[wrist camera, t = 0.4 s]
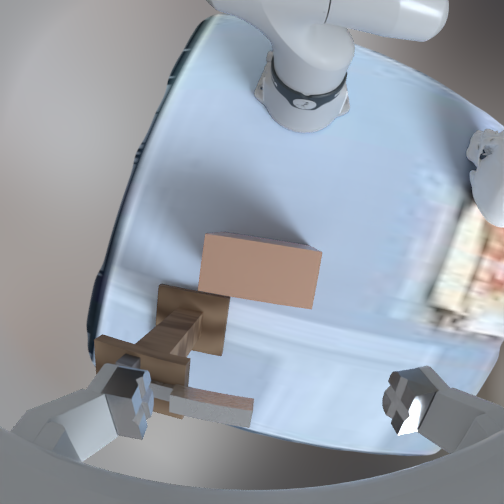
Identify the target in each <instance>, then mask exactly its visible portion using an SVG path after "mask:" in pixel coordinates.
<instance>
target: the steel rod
mask: <svg viewBox="0 0 504 504" xmlns="http://www.w3.org/2000/svg"><path fill="white" fill-rule="evenodd" d="M149 388H150V389H151V390H152V391H153V396H154V398H158V399H162V400H165V401H169V402H170V403H169V412H171V413H175V414H179V415H184V416H188V417H193V418H197V419H202V420H207V421H212V422H217V423H223V424H228V425H234V426H241V427H248V428H249V427H250V422H251V418H252V413H253V403H254V399H252V398H246V397H239V396H233V395H227V394H222V393H216V392H211V391H206V390H201V389H196V388H192V387H187V386H183V385H178V384H176V385H171V384H167V383H163V382H159V381H155V380H152V379H151V382H150V384H149Z"/></svg>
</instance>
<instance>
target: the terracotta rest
mask: <svg viewBox="0 0 504 504" xmlns="http://www.w3.org/2000/svg"><path fill="white" fill-rule="evenodd" d="M321 257H322V252H321V251H319V250H317V249H315V248H314V247H312V246H310V245H305V244H299V243H292V242H286V241H280V240H274V239H267V238H261V237H255V236H248V235H242V234H235V233H229V232H216V233H206V234H205V239H204V246H203V254H202V261H201V269H200V277H199V285H198V291H203V292H209V293H214V294H220V295H225V296H231V297H237V298H243V299H248V300H255V301H261V302H267V303H273V304H280V305H286V306H293V307H300V308H307V309H312V305H313V300H314V295H315V290H316V285H317V279H318V274H319V268H320V263H321Z"/></svg>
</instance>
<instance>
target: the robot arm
mask: <svg viewBox="0 0 504 504" xmlns="http://www.w3.org/2000/svg"><path fill="white" fill-rule="evenodd" d="M206 1H207V2H208V3H209V4H210V5H211V6H212V7H213V8H215V9H216V10H218V11H221V12H224V13H227V14H230V15H233V16H235V17H238V18H240V19H242V20H244V21H246V22H248V23H249V24H251V25H253V26H254V27H255V28H257V29H258V30H259V31H261V32H262V33H263V34H264V35H265V36H266V37H267V38H268V39H269V40H270V42H271V44H272V48H273V51H269V52H268V54H267V58H266V61H267V64H266V66H265V68H264V71H263V73H262V75H261V78H260V80H259V82H258V85H257V87H256V89H255V93H254V96H255V98H256V99H257V100H258V101H260V102H261V103H262V104H264V105H265V106H266V108H267V110H268V112H269V113H270V115H271V116H272V118H273V119H274V120H275V121H276V122H277V123H278V124H280V125H281V126H283V127H285V128H286V129H289V130H291V131H295V132H300V133H310V132H316V131H319V130H321V129H323V128H325V127H327V126H328V125H329V124H330V123H331V122H332V121H333V120H334V119H335V118H337V117H338V116H341V115H344V114H346V113H348V111H349V109H350V104H349V98H348V91H347V86H346V77H347V70H348V68H349V66H350V64H351V61H352V59H353V57H354V52H355V45H354V41H353V38H352V36H351V34H350V32H349V31H348V29H347V28H350V29H354V30H359V31H363V32H367V33H371V34H375V35H379V36H383V37H390V38H398V39H405V40H414V41H421V42H422V41H426V40H429V39H431V38H432V37H434V36H435V35H436V34H437V33H438V32H439V31H440V30H441V29H442V28H443V26H444V24H445V22H446V20H447V17H448V11H449V2H448V0H206ZM261 88H263V90H261ZM150 382H151V378H150V373H149V372H148V370H142V369H136V368H131V367H125V366H119V365H114V364H109V363H107V364H104V365H103V366H102V368H101V369H100V371H99V372H98V373H97V375H96V376H95V378H94V379H93V380H92V382H91V383H90V385H89V386H88V388H87V389H86V390H85V389H80V390H78V391H76V392H73V393H71V394H69V395H66V396H63V397H61V398H58V399H56V400H53V401H51V402H48V403H46V404H43V405H41V406H38V407H35V408H33V409H30V410H27V411H26V413H25V414H24V415H23V416H22V417H21V419H20V420H19V421H18V422H17V424H16V425H15V426H14V427H13V429H12V430H11V431H10V432H9V431H7V430H6V429H4V428H2V427H0V504H504V408H503V407H502V406H501V405H498V404H495V403H493V402H490V401H487V400H484V399H482V398H479V397H476V396H474V395H471V394H468V393H466V392H463V391H461V390H458V389H456V388H450V387H449V386H448V385H447V384H446V383H445V382H444V381H443V380H442V379H441V378H440V377H439V375H438V374H437V373H436V372H435V371H434V370H433V369H432V368H431V367H429V366H423V367H418V368H415V369H409V370H402V371H395V372H393V373H392V374H391V375H390V378H389V381H388V382H389V384H390V386H389V387H388V389H387V390H386V391H385V392H384V396H383V405H382V406H383V409H384V412H385V414H386V415H387V416H389V417H390V418H392V421H391V424H392V426H393V428H394V430H395V431H396V433H397V435H401V434H406V433H411V432H415V431H418V433H420V434H421V435H423V436H424V437H426V438H427V439H429V440H430V441H432V442H433V443H435V444H436V445H438V446H439V447H441V448H442V449H444V450H445V451H447V452H449V453H450V454H449V455H446V456H443V457H441V458H438V459H435V460H432V461H429V462H426V463H423V464H420V465H418V466H414V467H411V468H407V469H404V470H400V471H397V472H393V473H389V474H385V475H381V476H377V477H372V478H368V479H363V480H358V481H353V482H347V483H341V484H335V485H327V486H319V487H310V488H298V489H285V490H284V489H283V490H224V489H211V488H200V487H190V486H182V485H175V484H168V483H162V482H157V481H151V480H146V479H141V478H137V477H132V476H128V475H124V474H120V473H116V472H112V471H108V470H105V469H101V468H98V467H95V466H91V465H88V464H85V463H82V462H83V461H84V460H86V459H87V458H88V457H90V456H91V455H93V454H94V453H96V452H97V451H98V450H100V449H101V448H103V447H104V446H105V445H107V444H108V443H109V442H111V441H112V440H114V439H115V438H117V436H118V435H119V436H124V437H130V438H135V439H141V440H142V439H143V437H144V434H145V431H146V428H147V422H146V420H147V419H148V418H150V417H151V415H152V412H153V406H154V396H153V391H152V390H151V389H150V388H149V384H150Z"/></svg>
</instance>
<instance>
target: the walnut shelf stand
mask: <svg viewBox="0 0 504 504" xmlns="http://www.w3.org/2000/svg"><path fill="white" fill-rule="evenodd" d="M229 302H230V297H228V296H222V295H216V294H211V293H205V292H200V291H195V290H190V289H184V288H179V287H174V286H169V285H164V284H160V285H159V288H158V300H157V314H156V327H155V328H153V329H152V330H151V331H150V332H149V333H148V334H146V335H145V336H144V337H143V338H142V339H141V340H139V341H138V342H137V343H136V344H132V343H129V342H125V341H122V340H119V339H115V338H112V337H109V336H106V335H103V334H102V335H101V336H99V337H98V338H96V339H95V361H96V375H97V373H98V372H99V371H100V369H101V368H102V366H103V365H104V364H107V363H109V364H114V365H119V366H125V367H131V368H136V369H142V370H148V372H149V373H150V378H151V379H152V380H155V381H159V382H163V383H167V384H171V385H176V384H178V385H183V386H187V387H188V382H189V369H190V358H186V357H187V356H188V354H189V353H190V351H191V350H193V351H198V352H203V353H207V354H212V355H217V356H222V353H223V346H224V338H225V331H226V324H227V317H228V309H229ZM169 403H170V402H169V401H165V400H162V399H158V398H154V406H153V411H154V412H157V413H161V414H164V415H168V416H172V417H175V418H179V419H183V417H184V415H179V414H175V413H171V412H169Z"/></svg>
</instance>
